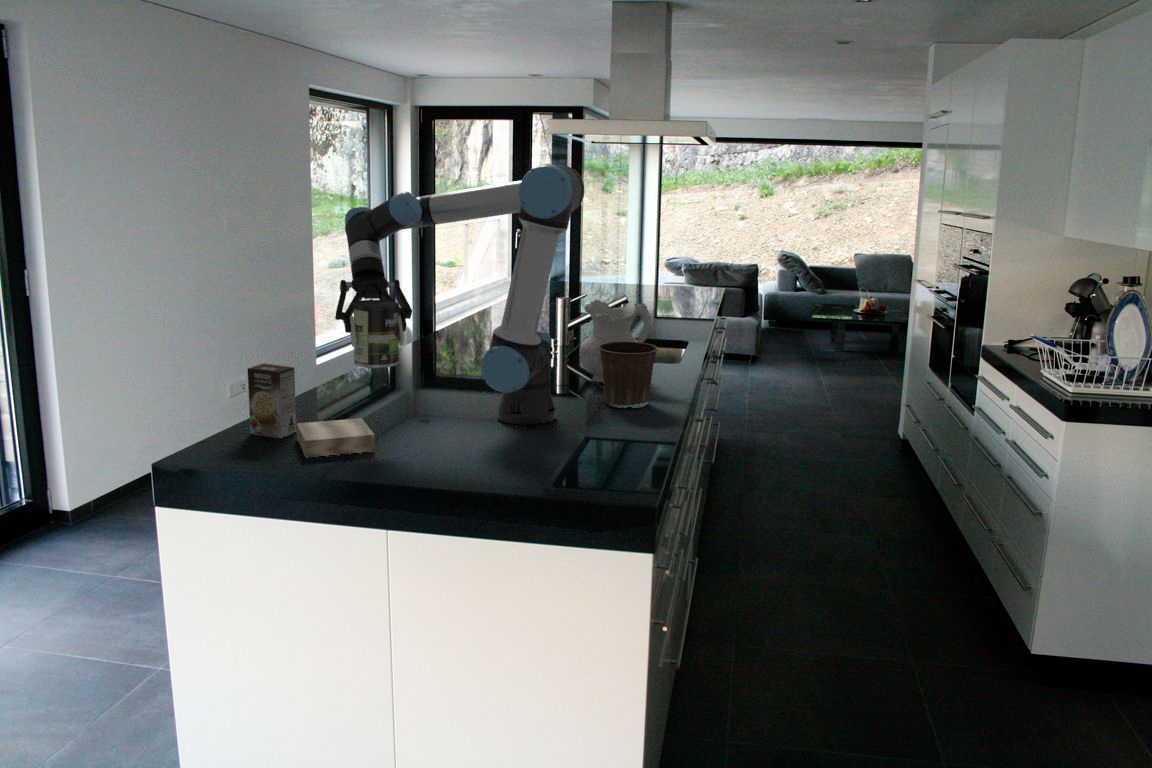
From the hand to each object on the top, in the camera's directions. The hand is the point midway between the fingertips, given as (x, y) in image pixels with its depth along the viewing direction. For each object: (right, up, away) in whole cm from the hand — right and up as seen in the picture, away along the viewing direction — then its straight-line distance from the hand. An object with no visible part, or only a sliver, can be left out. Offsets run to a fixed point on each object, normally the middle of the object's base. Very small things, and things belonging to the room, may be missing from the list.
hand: (378, 342), depth 215 cm
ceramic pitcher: (+57, -9, +73) cm, 93 cm away
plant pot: (+59, -15, +45) cm, 76 cm away
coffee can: (-1, -5, +4) cm, 6 cm away
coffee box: (-27, -21, +10) cm, 36 cm away
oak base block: (-10, -24, +1) cm, 26 cm away
